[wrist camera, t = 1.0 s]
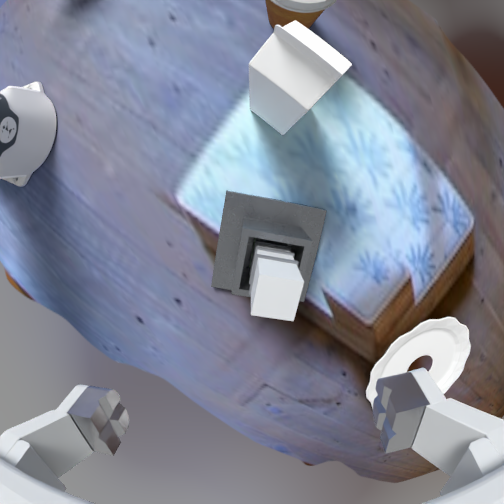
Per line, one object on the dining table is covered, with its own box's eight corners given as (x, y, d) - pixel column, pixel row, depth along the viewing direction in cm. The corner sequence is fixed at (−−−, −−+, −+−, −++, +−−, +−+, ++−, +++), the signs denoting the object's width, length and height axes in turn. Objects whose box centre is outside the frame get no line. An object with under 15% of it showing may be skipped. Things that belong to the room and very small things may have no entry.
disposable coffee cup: (246, 8, 33) (244, -36, 21) (301, -10, 32) (314, -53, 20) (277, 53, 35) (286, 16, 24) (333, 34, 34) (357, -3, 22)
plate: (414, 418, 55) (417, 423, 53) (339, 396, 52) (341, 402, 50) (482, 336, 49) (486, 340, 47) (420, 293, 46) (425, 297, 44)
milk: (282, 136, 39) (316, 105, 18) (248, 108, 38) (245, 50, 16) (310, 105, 37) (367, 52, 16) (277, 78, 36) (301, 1, 15)
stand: (212, 283, 44) (202, 315, 35) (227, 190, 41) (219, 197, 31) (302, 299, 45) (315, 332, 36) (324, 209, 41) (345, 222, 32)
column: (249, 262, 42) (248, 316, 27) (255, 232, 41) (257, 271, 26) (279, 267, 42) (295, 323, 27) (286, 237, 41) (306, 280, 26)
